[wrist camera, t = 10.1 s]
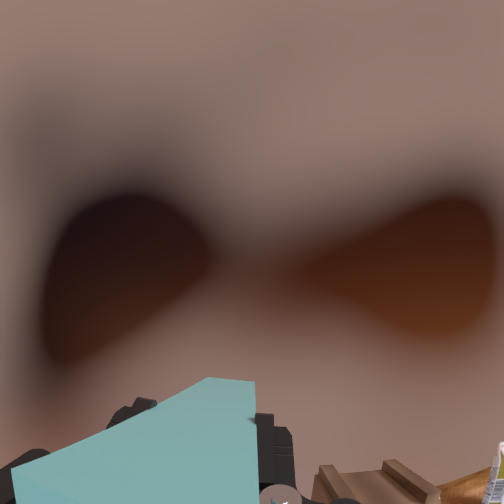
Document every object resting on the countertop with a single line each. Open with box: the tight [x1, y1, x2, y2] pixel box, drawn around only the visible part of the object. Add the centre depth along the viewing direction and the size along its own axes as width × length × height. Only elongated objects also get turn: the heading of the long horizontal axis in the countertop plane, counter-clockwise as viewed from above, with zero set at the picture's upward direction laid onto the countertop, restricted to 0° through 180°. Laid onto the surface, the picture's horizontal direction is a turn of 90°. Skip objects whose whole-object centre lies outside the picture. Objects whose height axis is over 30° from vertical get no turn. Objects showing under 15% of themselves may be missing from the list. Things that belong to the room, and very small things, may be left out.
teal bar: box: [11, 377, 260, 504], centre depth 14 cm, size 4×24×4 cm, turn 0°
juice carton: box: [482, 442, 504, 504], centre depth 41 cm, size 8×9×19 cm
